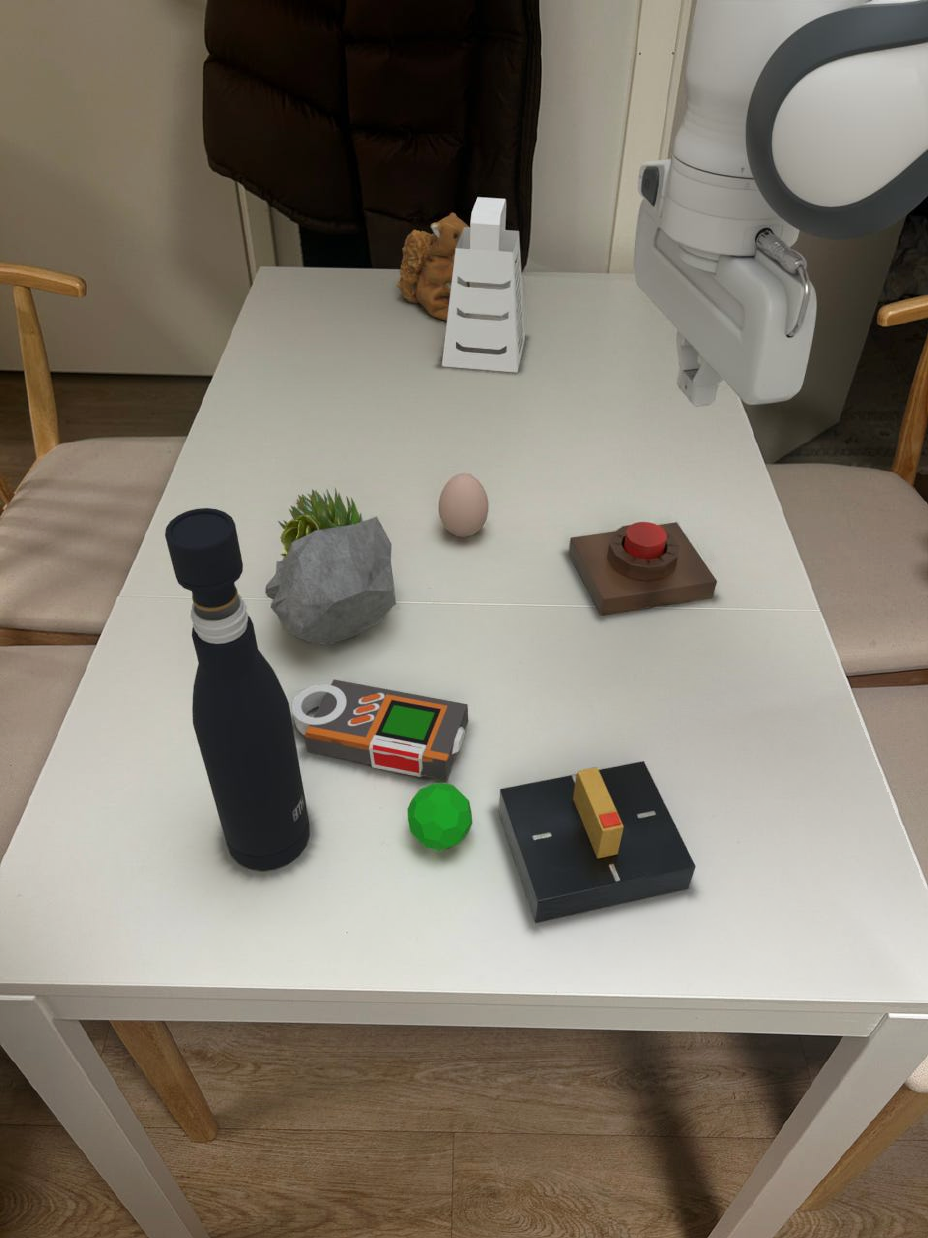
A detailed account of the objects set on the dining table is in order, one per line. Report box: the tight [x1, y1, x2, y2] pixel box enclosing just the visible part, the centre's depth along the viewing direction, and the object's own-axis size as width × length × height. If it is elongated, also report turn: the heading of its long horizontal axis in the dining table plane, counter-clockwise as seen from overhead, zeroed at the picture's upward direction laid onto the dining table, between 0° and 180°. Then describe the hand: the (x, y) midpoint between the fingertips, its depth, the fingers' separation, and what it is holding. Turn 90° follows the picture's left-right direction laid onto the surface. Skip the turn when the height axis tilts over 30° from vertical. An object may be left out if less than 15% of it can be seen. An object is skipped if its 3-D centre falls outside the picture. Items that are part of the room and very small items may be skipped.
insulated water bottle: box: [164, 507, 311, 872], centre depth 62 cm, size 6×6×30 cm
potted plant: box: [264, 487, 397, 646], centre depth 88 cm, size 12×13×15 cm
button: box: [624, 521, 667, 559], centre depth 93 cm, size 4×4×2 cm
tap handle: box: [573, 766, 624, 859], centre depth 69 cm, size 6×2×4 cm, turn 14°
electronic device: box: [291, 679, 469, 781], centre depth 79 cm, size 7×3×15 cm
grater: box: [441, 196, 526, 373], centre depth 125 cm, size 10×10×20 cm
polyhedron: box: [407, 782, 473, 851], centre depth 71 cm, size 5×5×5 cm
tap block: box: [498, 760, 697, 924], centre depth 71 cm, size 12×10×3 cm
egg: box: [437, 472, 489, 538], centre depth 99 cm, size 5×5×7 cm
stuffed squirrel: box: [396, 212, 471, 322], centre depth 139 cm, size 10×14×13 cm
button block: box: [568, 521, 718, 616], centre depth 95 cm, size 12×10×4 cm
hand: (694, 396), depth 70 cm, fingers closed
